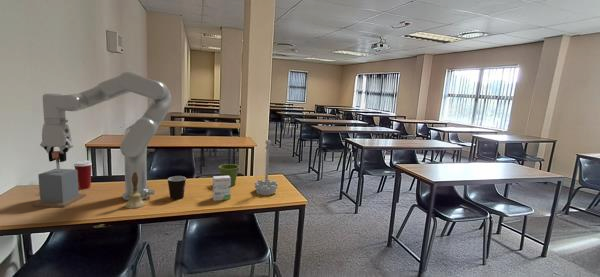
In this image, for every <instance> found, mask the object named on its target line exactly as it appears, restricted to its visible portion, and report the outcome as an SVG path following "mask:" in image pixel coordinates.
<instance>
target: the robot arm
mask: <svg viewBox="0 0 600 277" xmlns="http://www.w3.org/2000/svg"><path fill="white" fill-rule="evenodd" d="M128 93H133V94H137V95H139V96H143V97H146V98H148V99H151V100H152V101H151V103H150V104H149V106H148V108H147V109H146V111H145V112H144V114H143V115H142V116H141V117H140V118H139V119H137V121H135V123H134V124H132V125H133V126H132V127H130V130H129V131H128V132H127V134H126V135H125V137H124V138H123V140H122V142H121V143H120V145H119V146H120V147H119V150H120V152H121V154H122V156H124V184H125V192H124V193H122V195H121V198H122V200H124V201H129V197H130V194H132V193H133V183H132V176H133V173H134V172H137V175H138V183H137V193H140V195H141V199H142V200H144V199H145V200H146V199H147V198H149V197H150V196H151V195H153V196H154V195H155V189H150V186H149V185H148V180H147V178H148V175H147V172H148V171H147V155H148V154H147V151H148V145H149V143H150V142H151V140H152V138H153V137H154V135H155V134H156V133H157V131H158V129H159V126H160V125H161V123H162V122H163V120H164V119H165V118H166V115H168V112H169V111H170V109H171V106H172V95H171V92H170V90H169V88H168V86H167V85H166V84H165V83H164V82H162V81H160V80H159V81H157V80H155V79H151V78H148V77H147V76H146V77H145V76H143V75H139V74H137V73H136V72H135V71H125V72H122V73H121V74H120V75H117V76H115V77H112V78H110V79H107V80H106V79H105V80H104V81H101V82H100V83H98V84H96V86H94V87H93V88H90V89H87V90H85V91H82V92H79V93H73V94H61V93H44V94H43V95H42V110H43V112H42V113H43V124H42V130H41V132H42V133H41V142H40V144H39V146H40V147H42V148H43V149H44V150H45V152H46V153H47V154H48V161H49V162H50V163H51V162H54V161H56V159H52V152H53V151H55V147H56V148H57V147H58V149H59V151H60V154H59V161H60V163H64V162H66V161H67V153H68V152H69V150H70V149H73V147H74V145H73V143H72V136H71V129H70V126H69V125H68V124H67V123H68V122H69V120H68V119H66V118H67V117H66V112H78V111H81V110H85V109H88V108H90V107H91V108H92V107H93V106H96V105H98V104H101V103H104V102H107V101H111V100H112V99H116V98H118V97H120V96H123V95H127V94H128Z"/></svg>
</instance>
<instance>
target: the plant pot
mask: <svg viewBox="0 0 600 277" xmlns="http://www.w3.org/2000/svg"><path fill="white" fill-rule="evenodd" d="M218 168H219V171H220V176H230V178H231V187H233V186H235V185H236V181H237V176H238V171H239V168H240V166H239V164H234V163H233V164H232V163H228V164H227V163H225V164H221V165H219V166H218Z"/></svg>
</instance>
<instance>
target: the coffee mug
mask: <svg viewBox="0 0 600 277" xmlns="http://www.w3.org/2000/svg"><path fill="white" fill-rule="evenodd" d="M186 180H187V177H185V176H182V175H175V176H170V177H168V178H167V186H168V192H169V199H171V200H174V201H175V200H176V201H177V200H181V199H183V198H185V188H186Z"/></svg>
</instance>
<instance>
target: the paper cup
mask: <svg viewBox="0 0 600 277" xmlns="http://www.w3.org/2000/svg"><path fill="white" fill-rule="evenodd" d="M92 164H93V163H92V161H91V160H79V161H75V162H74V164H73V166H74V170H77V172H78V190H88V189H91V185H92Z"/></svg>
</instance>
